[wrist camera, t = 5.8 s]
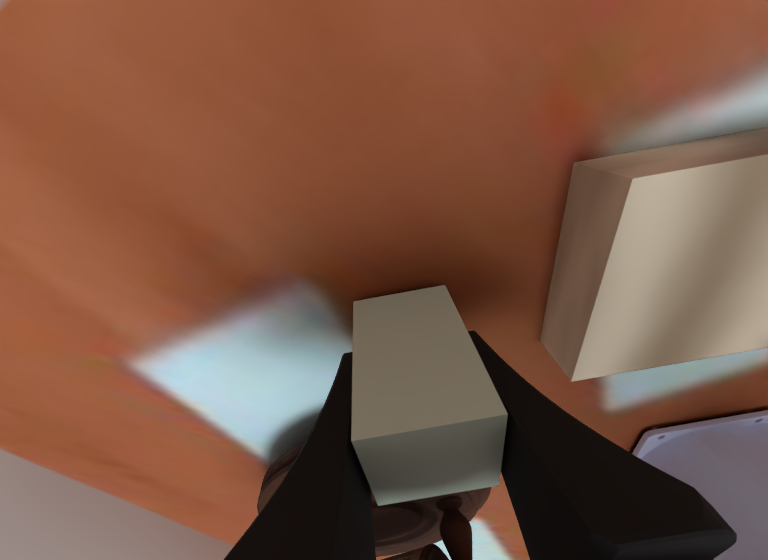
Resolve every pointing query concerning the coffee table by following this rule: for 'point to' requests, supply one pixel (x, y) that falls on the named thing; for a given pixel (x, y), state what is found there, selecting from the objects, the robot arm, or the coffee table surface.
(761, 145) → the beech block
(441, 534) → the scroll
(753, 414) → the robot arm
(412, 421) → the sage block
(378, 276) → the coffee table surface
